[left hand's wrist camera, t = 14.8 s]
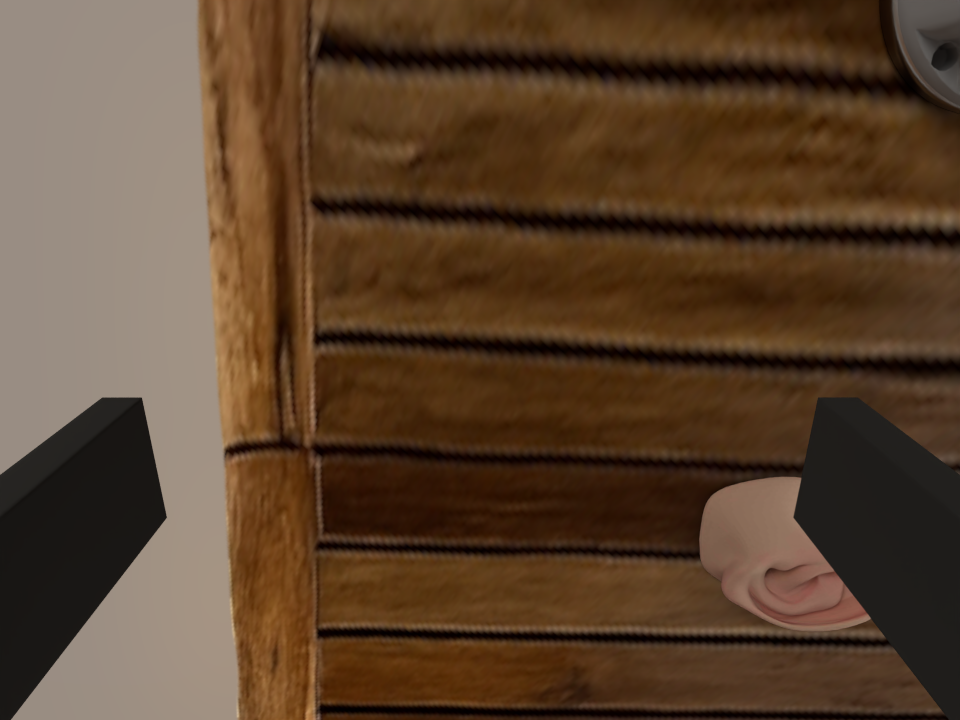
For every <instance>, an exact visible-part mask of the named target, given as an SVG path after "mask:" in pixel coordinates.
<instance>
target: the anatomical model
mask: <svg viewBox="0 0 960 720" xmlns="http://www.w3.org/2000/svg"><path fill="white" fill-rule="evenodd" d="M800 483H801V478H798V477H773V478H764V479H758V480H752V481H747V482H742V483H739V484H735V485H731V486H728V487H725V488H723V489H721V490H719V491H717V492H716V493H715V494H713V495H712V496H711V497H710V498H709V500H708V501H707V503H706V506H705V509H704V512H703V516H702V523H701V530H700V539H699V543H700V558H701V562H702V565H703V567H704V568H705V569H706V570H707V571H708V572H709V573H710V574H711V575H712V576H714V577H715V578H717V579H718V580H720V581H721V588H722V591H723V593H724V595H725V597H726V598H727V599H729V600H730V601H731V602H733V603H735V604H737V605H739V606H740V607H742V608H744V609H746V610H748V611H749V612H751V613H753V614H755V615H756V616H758V617H760V618H762V619H764V620H766V621H768V622H770V623H772V624H774V625H777V626H780V627H783V628H787V629H791V630H797V631H832V630H838V629H843V628H847V627H851V626H854V625H858V624H860V623H863V622H865V621H868V620H870V619H871V618H870V616H869V615H868V614H867V613H866V611H865V610H864V609H863V607H862V606H861V605H860V604H859V602H858V601H857V600H856V598H855V597H854V596H853V594H852V593H851V592H850V591H849V589H848V588H847V587H846V585H845V584H844V583H843V581H842V580H841V579H840V578H839V576H838V575H837V574H836V572H835V571H834V570H833V569H832V567H831V566H830V565H829V563H828V562H827V561H826V559H825V558H824V557H823V556H822V554H821V553H820V552H819V550H818V549H817V548H816V546H815V545H814V544H813V543H812V541H811V540H810V539H809V537H808V536H807V535H806V534H805V532H804V531H803V530H802V528H801V527H800V526H799V524H798V523H797V522H796V521H795V519H794V518H793V516H794V511H795V507H796V502H797V497H798V492H799V487H800Z"/></svg>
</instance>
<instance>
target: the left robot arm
mask: <svg viewBox="0 0 960 720" xmlns="http://www.w3.org/2000/svg"><path fill="white" fill-rule="evenodd" d="M879 1H880V19H881V27H882V31H883V36H884V40H885V43H886V46H887V49H888V52H889V54H890V56H891V59H892V61H893V63H894V65H895V66H896V68H897V70H898V71H899V73H900V75H901V76H902V77H903V78H904V80H905V81H906V82H907V83H908V85H910V86H911V87H912V88H913V89H914V90H915V91H916V92H917V93H918V94H919V95H921V96H922V97H923V98H925V99H926V100H928V101H929V102H931V103H933V104H935V105H936V106H939V107H941V108H943V109H946V110H949V111H952V112H956V113H960V0H879ZM166 518H167V516H166V511H165V507H164V502H163V497H162V492H161V487H160V483H159V478H158V473H157V468H156V463H155V459H154V454H153V449H152V444H151V440H150V435H149V430H148V425H147V420H146V415H145V411H144V406H143V401H142V398H101V399H100V400H99V401H97V402H96V403H95V404H93V405H92V406H91V407H89V408H88V409H87V410H85V411H84V412H83V413H81V414H80V415H79V416H77V417H76V418H75V419H74V420H72V421H71V422H70V423H68V424H67V425H66V426H64V427H63V428H62V429H60V430H59V431H58V432H56V433H55V434H54V435H52V436H51V437H50V438H48V439H47V440H46V441H44V442H43V443H42V444H41V445H39V446H38V447H37V448H35V449H34V450H33V451H31V452H30V453H29V454H27V455H26V456H25V457H23V458H22V459H21V460H19V461H18V462H17V463H15V464H14V465H13V466H11V467H10V468H9V469H7V470H6V471H5V472H4V473H2V474H1V475H0V720H11V719H12V718H13V716H14V715H15V714H16V712H17V711H18V710H19V708H20V707H21V706H22V705H23V703H24V702H25V701H26V699H27V698H28V697H29V695H30V694H31V693H32V692H33V690H34V689H35V688H36V686H37V685H38V684H39V683H40V681H41V680H42V679H43V677H44V676H45V675H46V674H47V672H48V671H49V670H50V668H51V667H52V666H53V664H54V663H55V662H56V660H57V659H58V658H59V657H60V655H61V654H62V653H63V651H64V650H65V649H66V648H67V646H68V645H69V644H70V642H71V641H72V640H73V639H74V637H75V636H76V635H77V633H78V632H79V631H80V629H81V628H82V627H83V625H84V624H85V623H86V622H87V620H88V619H89V618H90V616H91V615H92V614H93V613H94V611H95V610H96V609H97V607H98V606H99V605H100V603H101V602H102V601H103V600H104V598H105V597H106V596H107V594H108V593H109V592H110V590H111V589H112V588H113V587H114V585H115V584H116V583H117V581H118V580H119V579H120V578H121V576H122V575H123V574H124V572H125V571H126V570H127V569H128V567H129V566H130V565H131V563H132V562H133V561H134V559H135V558H136V557H137V556H138V554H139V553H140V552H141V550H142V549H143V548H144V546H145V545H146V544H147V542H148V541H149V540H150V539H151V537H152V536H153V535H154V533H155V532H156V531H157V530H158V528H159V527H160V526H161V524H162V523H163V522H164V521H165V519H166ZM793 518H794V519H795V521H796V522H797V523H798V524H799V526H800V527H801V528H802V530H803V531H804V532H805V534H806V535H807V536H808V537H809V539H810V540H811V541H812V543H813V544H814V545H815V546H816V548H817V549H818V550H819V552H820V553H821V554H822V556H823V557H824V558H825V559H826V561H827V562H828V563H829V565H830V566H831V567H832V569H833V570H834V571H835V572H836V574H837V575H838V576H839V578H840V579H841V580H842V581H843V583H844V584H845V585H846V587H847V588H848V589H849V591H850V592H851V593H852V594H853V596H854V597H855V598H856V600H857V601H858V602H859V604H860V605H861V606H862V607H863V609H864V610H865V611H866V613H867V614H868V615H869V616H870V618H871V619H872V620H873V622H874V623H875V624H876V626H877V627H878V628H879V629H880V631H881V632H882V633H883V635H884V636H885V637H886V639H887V640H888V641H889V642H890V644H891V645H892V646H893V648H894V649H895V650H896V651H897V653H898V654H899V655H900V657H901V658H902V659H903V661H904V662H905V663H906V664H907V666H908V667H909V668H910V670H911V671H912V672H913V674H914V675H915V676H916V677H917V679H918V680H919V681H920V683H921V684H922V685H923V686H924V688H925V689H926V690H927V692H928V693H929V694H930V696H931V697H932V698H933V699H934V701H935V702H936V703H937V705H938V706H939V707H940V709H941V710H942V711H943V712H944V714H945V715H946V716H947V718H948V719H949V720H960V475H959V474H958V473H956V472H955V471H954V470H953V469H951V468H950V467H949V466H947V465H946V464H945V463H943V462H942V461H941V460H939V459H938V458H937V457H935V456H934V455H933V454H931V453H930V452H929V451H927V450H926V449H925V448H923V447H922V446H921V445H920V444H918V443H917V442H916V441H914V440H913V439H912V438H910V437H909V436H908V435H906V434H905V433H904V432H902V431H901V430H900V429H898V428H897V427H896V426H894V425H893V424H892V423H890V422H889V421H888V420H887V419H885V418H884V417H883V416H881V415H880V414H879V413H877V412H876V411H875V410H873V409H872V408H871V407H869V406H868V405H867V404H865V403H864V402H863V401H861V400H860V399H859V398H818V401H817V406H816V411H815V415H814V420H813V425H812V430H811V435H810V439H809V444H808V449H807V454H806V459H805V463H804V468H803V473H802V478H801V483H800V487H799V492H798V497H797V502H796V507H795V511H794V516H793Z"/></svg>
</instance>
